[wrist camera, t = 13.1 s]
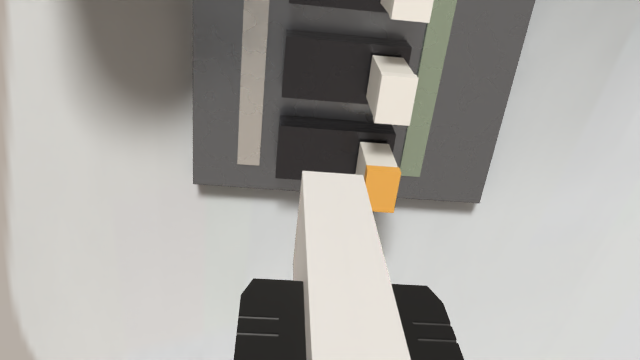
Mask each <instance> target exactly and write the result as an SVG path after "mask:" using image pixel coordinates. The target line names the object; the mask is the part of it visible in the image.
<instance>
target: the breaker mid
mask: <svg viewBox="0 0 640 360" xmlns="http://www.w3.org/2000/svg"><path fill="white" fill-rule="evenodd" d="M418 79H419V78H418V77H417V75H415V74H414V73H413V71H412V70H411V68H410V67H409V65H408V64H407V62H406V61H405V59H404V58H399V57H388V56H377V55H372V62H371V68H370V75H369V82H368V88H367V95H366V98H367V101H368V104H369V106H370V109H371V112H372V115H373V121H374V123H379V124H392V125H405V126H410V121H411V115H412V110H413V105H414V100H415V95H416V90H417V84H418Z"/></svg>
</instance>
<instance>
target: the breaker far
mask: <svg viewBox="0 0 640 360" xmlns="http://www.w3.org/2000/svg"><path fill="white" fill-rule="evenodd" d="M355 174H356V175H363V177H364V180H365V184H366V188H367V192H368V196H369V200H370V204H371V208H372V211H373V212H389V213H394V207H395V202H396V197H397V192H398V187H399V182H400V177H401V171H400V168H399V167H398V166H397V163H396V161H395V158H394V156H393V153H392V151H391V148H390V145H389V144H381V143H368V142H360V146H359V153H358V159H357V166H356V173H355Z"/></svg>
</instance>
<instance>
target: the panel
mask: <svg viewBox="0 0 640 360" xmlns="http://www.w3.org/2000/svg"><path fill="white" fill-rule="evenodd" d="M380 2H381V0H193V184H203V185H218V186H232V187H247V188H262V189H277V190H292V191H300V189H301V179H302V171H314V172H328V173H342V174H355V173H356V166H357V159H358V153H359V146H360V142H368V143H381V144H389V145H390V148H391V151H392V153H393V156H394V158H395V161H396V163H397V166H398V167H399V168H400V171H401V177H400V182H399V187H398V192H397V198H412V199H427V200H442V201H457V202H472V203H480V199H481V195H482V192H483V188H484V185H485V181H486V177H487V174H488V170H489V166H490V163H491V159H492V156H493V152H494V148H495V145H496V141H497V137H498V134H499V130H500V126H501V123H502V119H503V116H504V112H505V108H506V105H507V101H508V97H509V94H510V90H511V86H512V83H513V79H514V76H515V72H516V68H517V65H518V61H519V57H520V54H521V50H522V47H523V43H524V39H525V36H526V32H527V28H528V25H529V21H530V17H531V14H532V10H533V7H534V3H535V0H434V2H433V7H432V12H431V17H430V22H429V23H424V22H414V21H404V20H394V19H391V18H390V17H389V14H388V12H387V11H386V10H385V8H384V7H383V6H382V4H381V3H380ZM372 55H377V56H388V57H399V58H404V59H405V61H406V62H407V64H408V65H409V67H410V68H411V70H412V71H413V73H414V74H415V75H417V77H418V78H419V79H418V84H417V90H416V95H415V100H414V105H413V110H412V115H411V121H410V126H405V125H392V124H379V123H374V121H373V115H372V112H371V109H370V106H369V104H368V101H367V98H366V95H367V88H368V82H369V75H370V68H371V62H372Z"/></svg>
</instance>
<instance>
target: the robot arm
mask: <svg viewBox="0 0 640 360" xmlns="http://www.w3.org/2000/svg"><path fill="white" fill-rule="evenodd" d="M234 360H464V358H463V356H462V353H461V350H460V347H459V345H458V343H456V337H455V334H454V331H453V329H452V327H450V320H449V318H448V315H447V312H446V310H445V307H444V304H443V303H442V301H441V300H440V299H439V298H438V297H437V296H436V295H435V294H434V293H433V292H432V291H431V290H430V289H429V287H428V286H419V285H400V284H391V281H390V277H389V273H388V269H387V266H386V262H385V258H384V254H383V250H382V246H381V242H380V238H379V235H378V231H377V227H376V223H375V219H374V215H373V211H372V208H371V204H370V200H369V196H368V192H367V188H366V184H365V180H364V177H363V175H356V174H342V173H328V172H314V171H302V179H301V189H300V199H299V209H298V218H297V228H296V238H295V248H294V258H293V281H291V280H272V279H253V280H252V281H251V282H250V284H249V285H248V286H247V288H246V289H245V290H244V292H243V293H242V294H241V300H240V309H239V319H238V326H237V336H236V344H235V353H234Z"/></svg>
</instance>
